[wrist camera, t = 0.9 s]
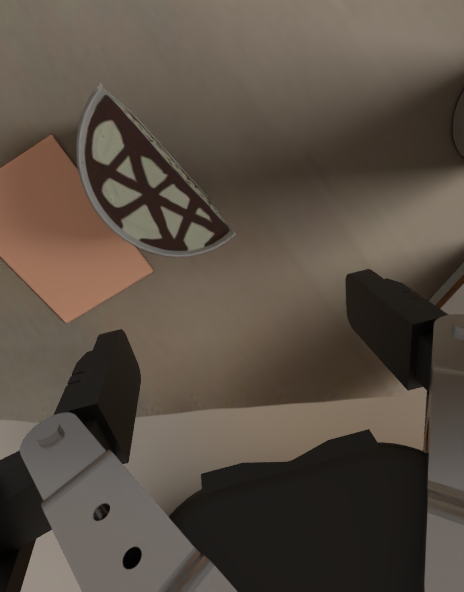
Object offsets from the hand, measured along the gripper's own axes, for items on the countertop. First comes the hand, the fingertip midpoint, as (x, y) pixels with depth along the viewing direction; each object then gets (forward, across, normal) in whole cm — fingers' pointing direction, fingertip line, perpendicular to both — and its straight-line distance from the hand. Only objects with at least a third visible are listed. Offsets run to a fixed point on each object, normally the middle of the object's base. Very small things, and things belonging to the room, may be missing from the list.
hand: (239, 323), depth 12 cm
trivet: (+22, +13, 0) cm, 25 cm away
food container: (+22, +4, -3) cm, 23 cm away
